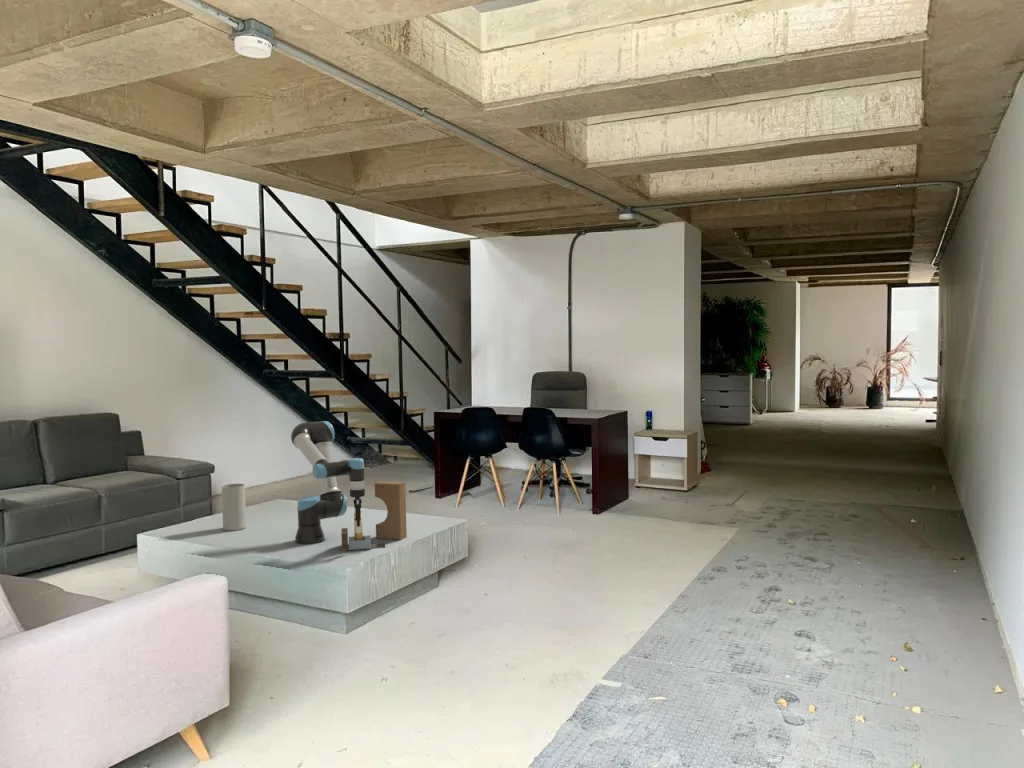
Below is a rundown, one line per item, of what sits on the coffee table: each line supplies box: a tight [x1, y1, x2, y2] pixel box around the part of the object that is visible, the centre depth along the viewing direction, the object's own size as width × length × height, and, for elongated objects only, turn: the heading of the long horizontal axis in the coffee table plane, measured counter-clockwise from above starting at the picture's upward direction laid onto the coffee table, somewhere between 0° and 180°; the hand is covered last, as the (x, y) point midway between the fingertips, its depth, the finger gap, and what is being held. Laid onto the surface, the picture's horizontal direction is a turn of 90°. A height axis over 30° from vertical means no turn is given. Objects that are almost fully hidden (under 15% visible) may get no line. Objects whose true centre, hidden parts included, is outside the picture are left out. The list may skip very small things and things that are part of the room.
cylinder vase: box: [221, 483, 247, 532], centre depth 440 cm, size 12×12×25 cm
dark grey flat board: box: [348, 542, 386, 551], centre depth 395 cm, size 8×19×1 cm, turn 102°
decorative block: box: [374, 480, 408, 541], centre depth 412 cm, size 15×8×30 cm, turn 71°
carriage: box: [348, 534, 372, 551], centre depth 394 cm, size 11×11×4 cm
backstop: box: [340, 527, 349, 553], centre depth 392 cm, size 13×3×9 cm, turn 12°
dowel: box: [353, 511, 364, 540], centre depth 393 cm, size 4×4×16 cm
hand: (358, 529), depth 393 cm, fingers open, 13 cm apart
